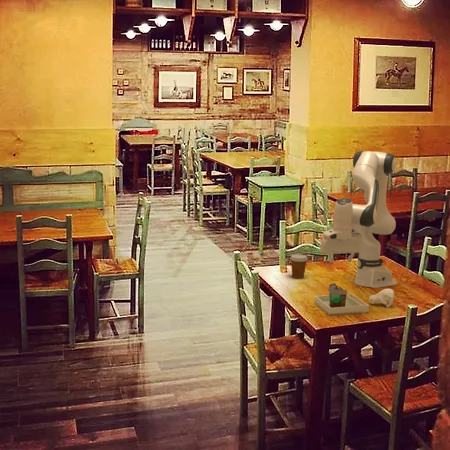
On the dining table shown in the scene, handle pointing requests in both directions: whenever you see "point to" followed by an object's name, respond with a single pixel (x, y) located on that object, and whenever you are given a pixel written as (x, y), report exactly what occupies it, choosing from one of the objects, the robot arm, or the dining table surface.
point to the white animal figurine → (383, 297)
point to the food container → (337, 296)
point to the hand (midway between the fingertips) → (340, 261)
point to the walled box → (351, 307)
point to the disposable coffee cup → (298, 265)
